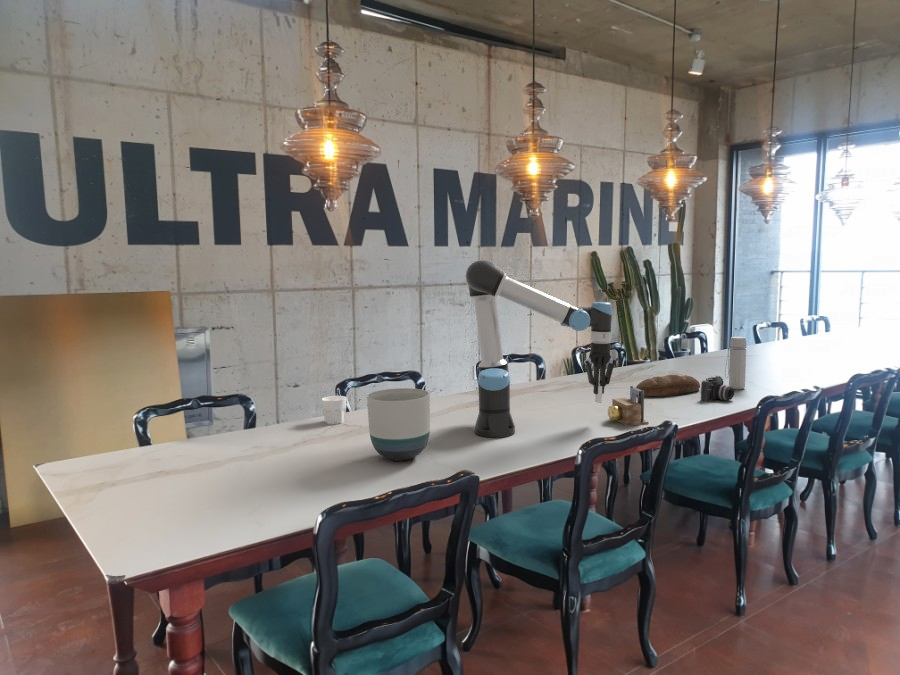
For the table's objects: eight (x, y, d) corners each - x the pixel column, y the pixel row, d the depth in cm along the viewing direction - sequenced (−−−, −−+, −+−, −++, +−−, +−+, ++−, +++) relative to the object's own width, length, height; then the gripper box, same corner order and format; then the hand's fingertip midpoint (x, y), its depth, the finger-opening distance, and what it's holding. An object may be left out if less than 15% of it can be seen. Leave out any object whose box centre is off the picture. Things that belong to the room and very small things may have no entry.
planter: (380, 471, 188) (377, 404, 185) (362, 453, 206) (360, 392, 204) (440, 461, 196) (439, 396, 193) (418, 445, 214) (416, 386, 212)
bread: (708, 391, 291) (709, 374, 290) (649, 400, 276) (649, 382, 275) (684, 386, 305) (684, 369, 304) (626, 393, 291) (626, 376, 290)
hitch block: (626, 425, 233) (626, 392, 232) (612, 418, 245) (612, 386, 243) (648, 423, 235) (648, 391, 233) (633, 416, 247) (633, 385, 245)
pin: (614, 422, 236) (614, 407, 235) (607, 418, 241) (607, 404, 240) (643, 419, 238) (643, 405, 237) (636, 416, 243) (636, 402, 243)
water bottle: (746, 387, 297) (747, 336, 294) (744, 390, 291) (745, 338, 288) (725, 385, 302) (727, 336, 299) (723, 388, 296) (724, 337, 293)
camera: (721, 404, 264) (722, 382, 263) (698, 400, 273) (698, 378, 271) (737, 399, 273) (738, 377, 272) (714, 395, 281) (714, 374, 280)
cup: (318, 424, 248) (317, 400, 247) (331, 418, 257) (330, 395, 256) (339, 425, 244) (338, 401, 243) (351, 419, 254) (350, 396, 252)
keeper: (638, 407, 236) (638, 391, 236) (630, 403, 243) (630, 387, 242) (643, 406, 237) (643, 390, 236) (635, 403, 243) (635, 387, 243)
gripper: (588, 343, 229) (586, 404, 232) (620, 343, 231) (618, 403, 234) (580, 341, 236) (578, 400, 239) (611, 340, 239) (609, 399, 242)
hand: (598, 402), depth 237 cm, fingers closed
